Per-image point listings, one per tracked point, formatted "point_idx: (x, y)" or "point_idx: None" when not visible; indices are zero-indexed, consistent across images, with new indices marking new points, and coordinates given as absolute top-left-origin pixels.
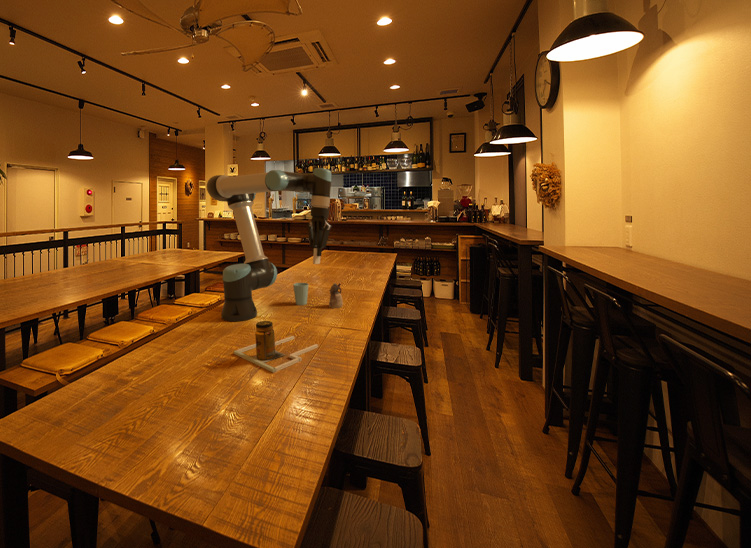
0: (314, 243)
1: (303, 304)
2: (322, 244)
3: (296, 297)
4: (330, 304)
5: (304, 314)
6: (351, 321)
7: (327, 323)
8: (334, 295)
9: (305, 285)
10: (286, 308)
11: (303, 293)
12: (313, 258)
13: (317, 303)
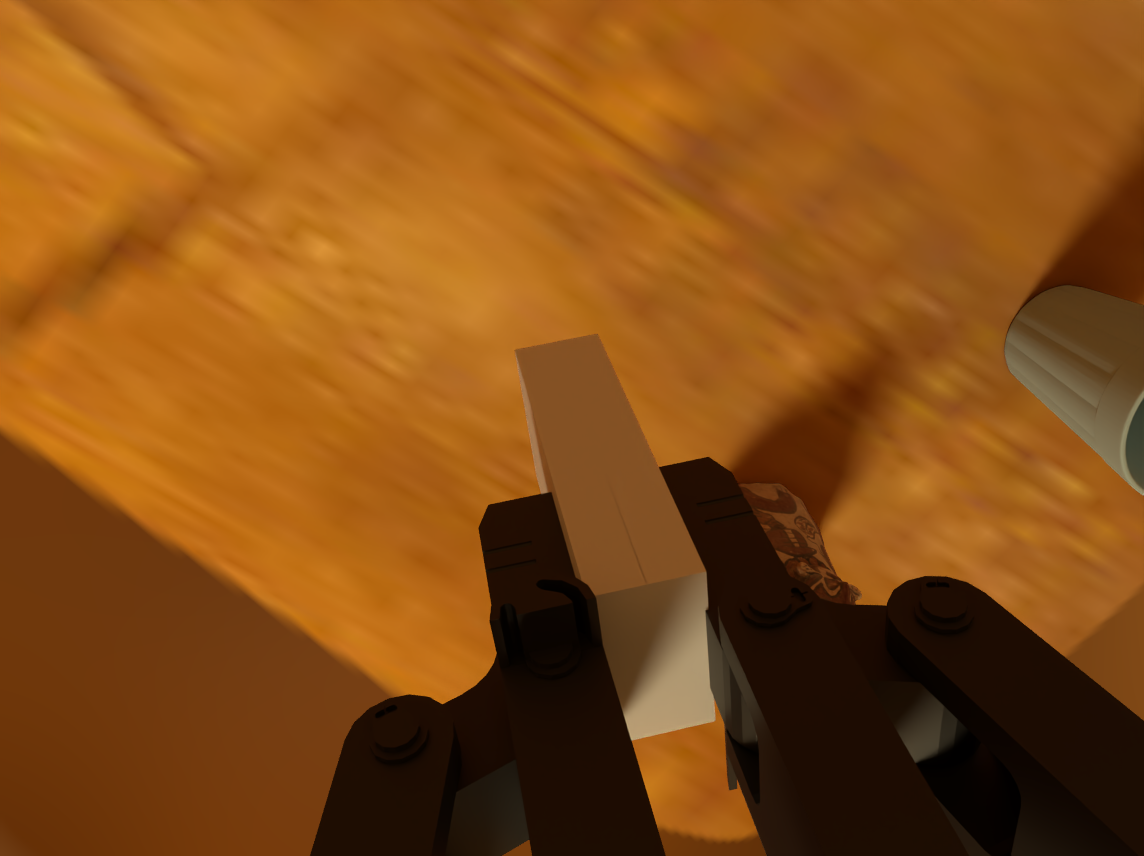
0: (756, 703)
1: (1010, 333)
2: (333, 823)
3: (1110, 304)
4: (759, 499)
5: (756, 177)
6: (264, 419)
7: (353, 204)
8: None
9: (1121, 437)
10: (1052, 136)
11: (1075, 376)
12: (612, 396)
13: (943, 458)
